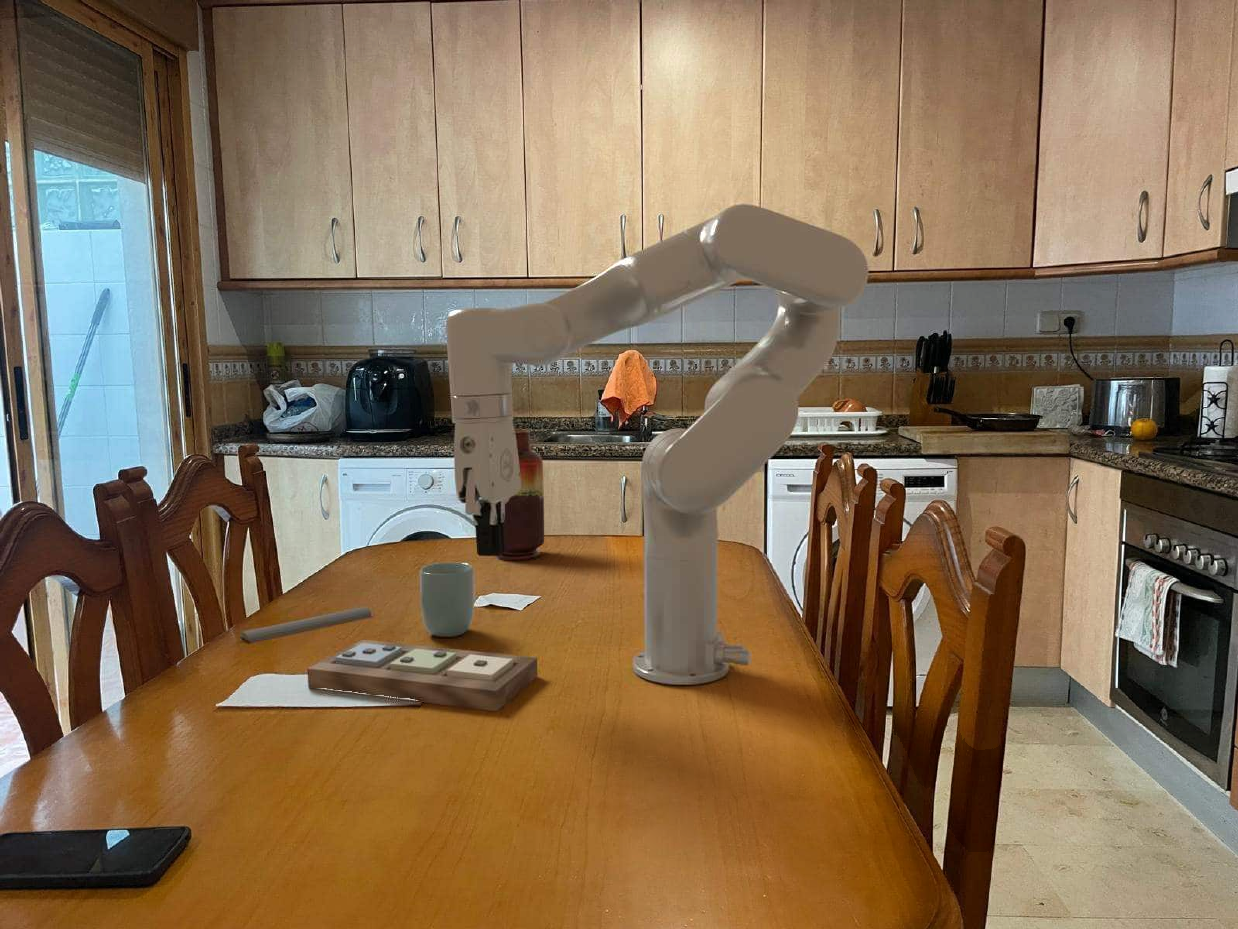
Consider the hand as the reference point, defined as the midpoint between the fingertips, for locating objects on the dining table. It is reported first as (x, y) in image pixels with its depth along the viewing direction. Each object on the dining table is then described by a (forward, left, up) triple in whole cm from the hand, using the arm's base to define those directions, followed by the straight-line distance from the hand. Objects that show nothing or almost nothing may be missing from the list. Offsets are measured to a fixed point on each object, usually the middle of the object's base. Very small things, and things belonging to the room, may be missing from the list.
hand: (491, 554), depth 113 cm
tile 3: (+16, +4, -16) cm, 23 cm away
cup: (+15, -15, -17) cm, 27 cm away
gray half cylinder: (+38, -12, -17) cm, 43 cm away
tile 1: (0, +4, -16) cm, 17 cm away
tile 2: (+8, +4, -16) cm, 18 cm away
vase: (+27, -66, -17) cm, 73 cm away
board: (+8, +4, -16) cm, 18 cm away
